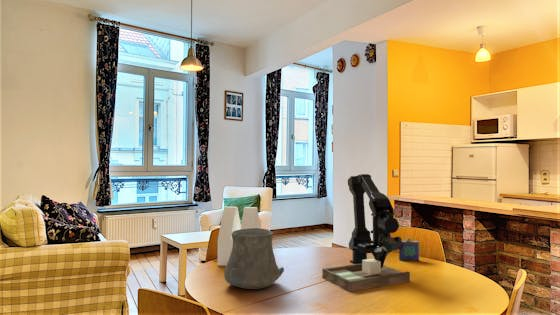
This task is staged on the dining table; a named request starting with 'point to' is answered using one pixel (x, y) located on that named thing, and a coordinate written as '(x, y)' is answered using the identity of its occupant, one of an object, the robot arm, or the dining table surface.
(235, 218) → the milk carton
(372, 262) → the block
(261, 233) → the vessel
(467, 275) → the dining table surface
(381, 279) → the box
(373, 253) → the robot arm
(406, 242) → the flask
